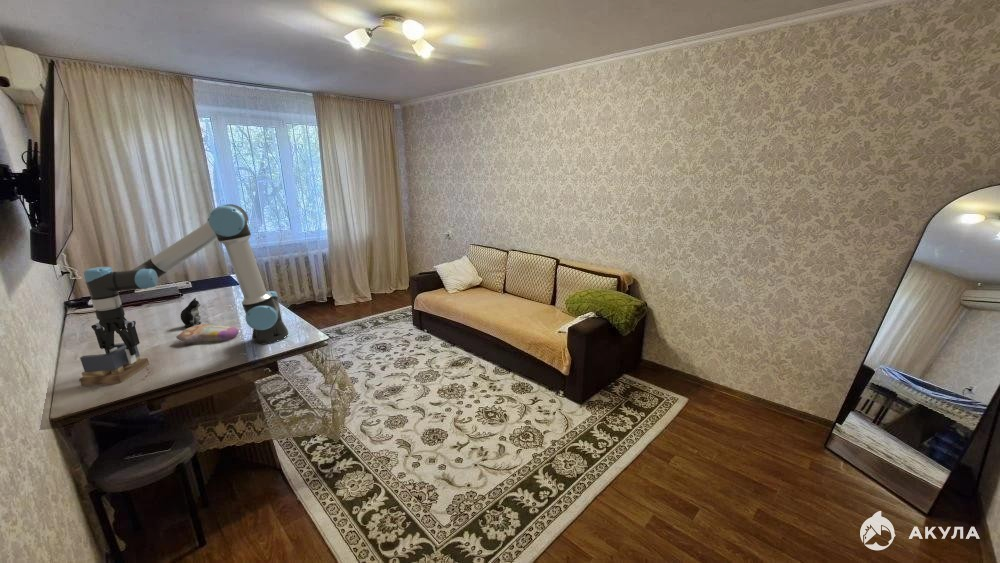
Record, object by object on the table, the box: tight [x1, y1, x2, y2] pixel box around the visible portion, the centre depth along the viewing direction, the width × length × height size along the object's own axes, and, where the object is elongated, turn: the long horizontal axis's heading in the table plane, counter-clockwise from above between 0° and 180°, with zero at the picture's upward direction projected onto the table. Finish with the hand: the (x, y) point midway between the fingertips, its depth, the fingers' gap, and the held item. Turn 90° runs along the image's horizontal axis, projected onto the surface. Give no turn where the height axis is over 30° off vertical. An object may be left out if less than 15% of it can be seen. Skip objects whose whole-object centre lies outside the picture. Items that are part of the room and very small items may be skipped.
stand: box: [79, 356, 150, 387], centre depth 150 cm, size 13×15×5 cm
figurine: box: [180, 297, 202, 329], centre depth 198 cm, size 10×10×15 cm
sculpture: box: [175, 323, 239, 343], centre depth 185 cm, size 17×7×25 cm
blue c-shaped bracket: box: [79, 342, 140, 372], centre depth 149 cm, size 10×12×6 cm
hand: (125, 363), depth 150 cm, fingers open, 5 cm apart
